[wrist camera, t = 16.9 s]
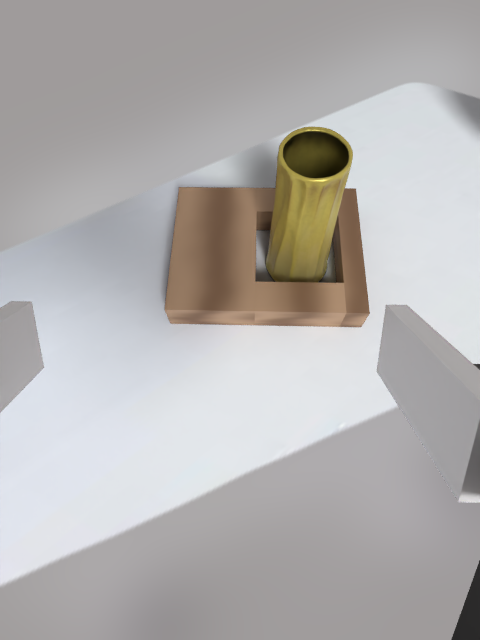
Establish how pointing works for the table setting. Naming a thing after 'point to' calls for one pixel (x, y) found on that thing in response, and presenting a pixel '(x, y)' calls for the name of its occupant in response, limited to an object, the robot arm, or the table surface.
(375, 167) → the table surface
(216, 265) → the frame
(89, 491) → the table surface
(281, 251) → the vase
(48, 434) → the table surface
